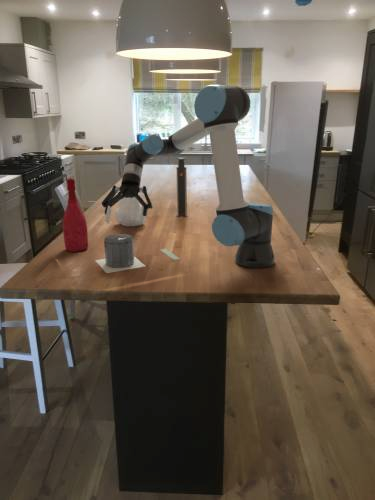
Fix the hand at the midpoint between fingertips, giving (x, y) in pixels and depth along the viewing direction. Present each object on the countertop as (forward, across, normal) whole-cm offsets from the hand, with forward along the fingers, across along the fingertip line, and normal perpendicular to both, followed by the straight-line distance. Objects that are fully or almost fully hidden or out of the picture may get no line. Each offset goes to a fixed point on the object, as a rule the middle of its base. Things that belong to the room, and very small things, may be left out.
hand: (123, 222), depth 157 cm
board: (+16, 0, -5) cm, 17 cm away
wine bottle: (+4, +24, -17) cm, 30 cm away
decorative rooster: (-23, +10, -44) cm, 51 cm away
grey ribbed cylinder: (+16, 0, -4) cm, 16 cm away
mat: (+9, -12, -12) cm, 19 cm away
